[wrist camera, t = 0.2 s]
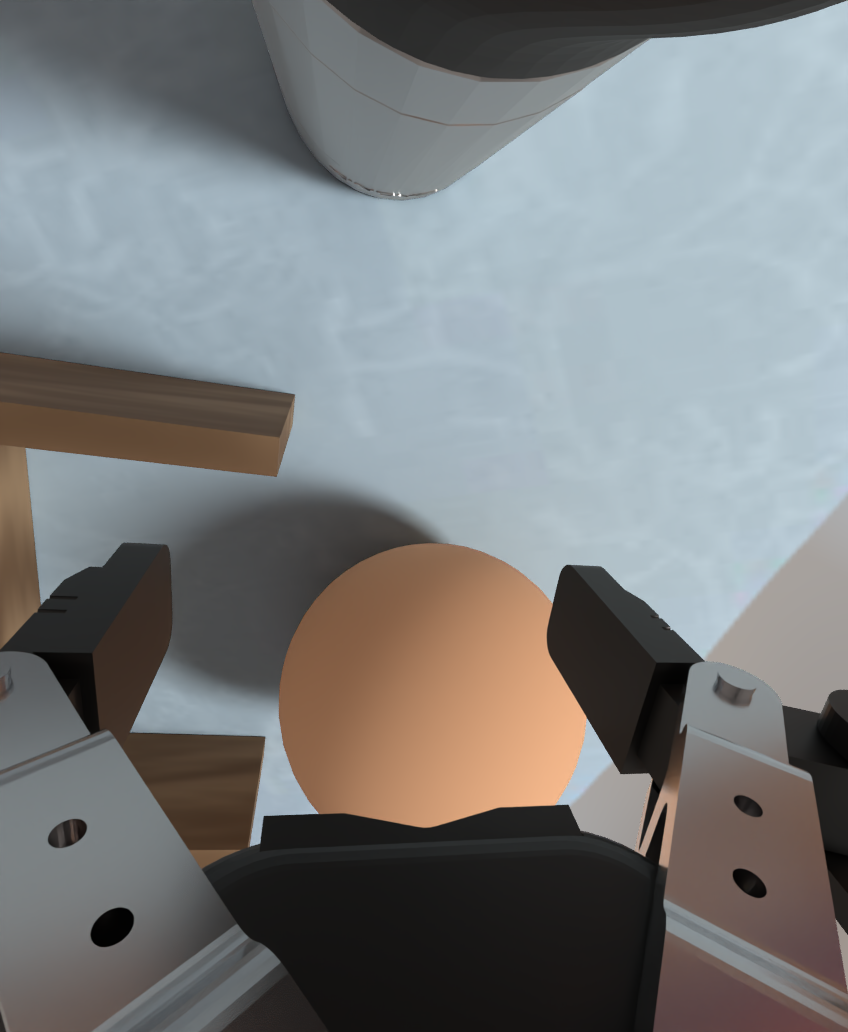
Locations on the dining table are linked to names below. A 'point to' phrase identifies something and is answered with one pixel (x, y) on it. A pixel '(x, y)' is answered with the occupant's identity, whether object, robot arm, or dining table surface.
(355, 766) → the ball
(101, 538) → the dining table surface
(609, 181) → the dining table surface
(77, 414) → the pocket
